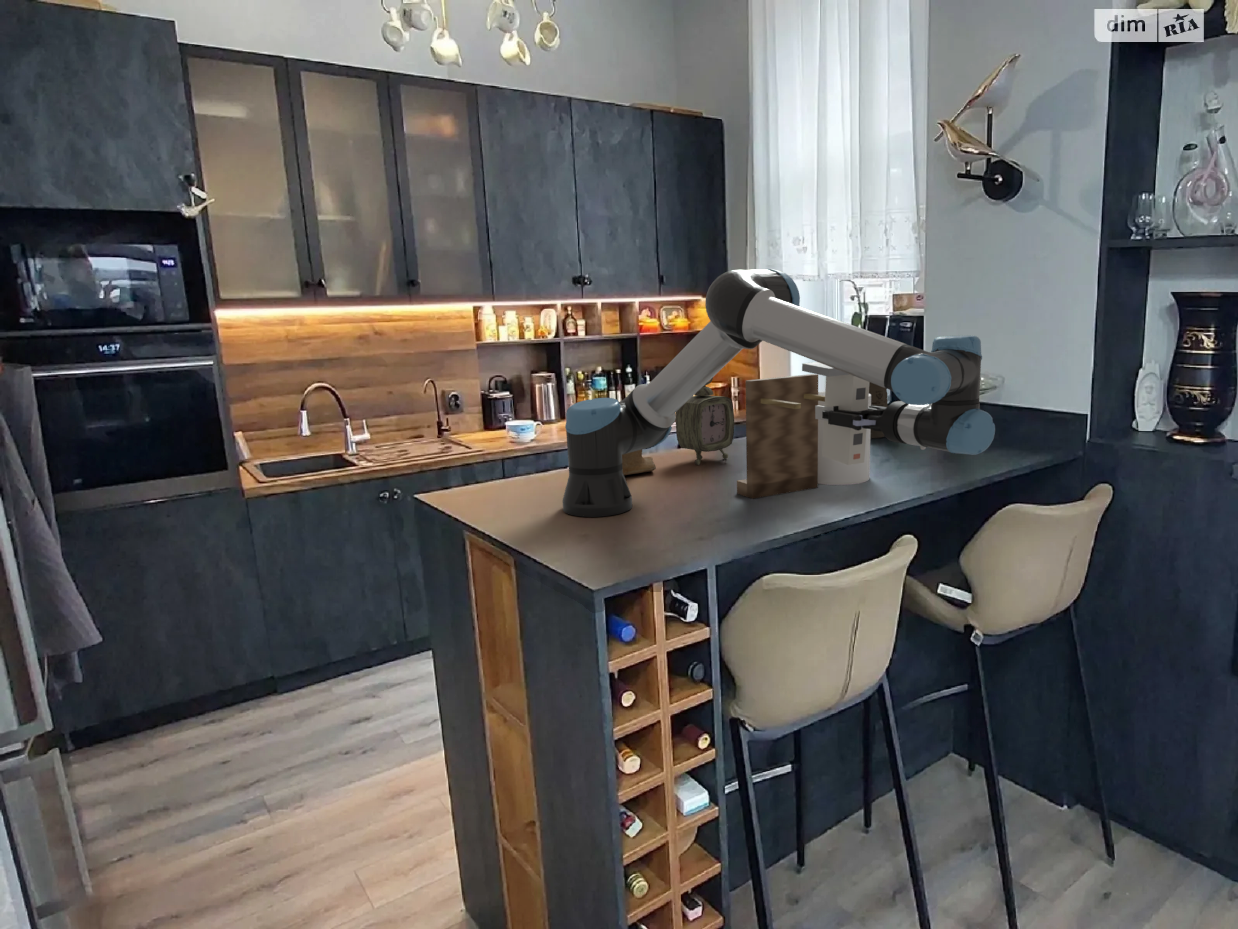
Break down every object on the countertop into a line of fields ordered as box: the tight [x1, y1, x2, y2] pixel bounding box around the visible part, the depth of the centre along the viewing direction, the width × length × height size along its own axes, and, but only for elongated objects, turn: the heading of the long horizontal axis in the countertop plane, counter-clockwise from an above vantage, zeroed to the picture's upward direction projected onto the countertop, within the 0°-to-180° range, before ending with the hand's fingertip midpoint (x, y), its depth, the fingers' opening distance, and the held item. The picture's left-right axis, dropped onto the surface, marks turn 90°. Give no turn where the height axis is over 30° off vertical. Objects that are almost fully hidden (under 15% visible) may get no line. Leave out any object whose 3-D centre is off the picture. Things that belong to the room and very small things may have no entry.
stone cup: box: [622, 449, 657, 476], centre depth 206 cm, size 15×12×15 cm
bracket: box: [736, 373, 825, 500], centre depth 176 cm, size 18×18×26 cm
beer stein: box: [869, 382, 889, 440], centre depth 247 cm, size 15×11×20 cm
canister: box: [818, 391, 871, 486], centre depth 192 cm, size 16×16×20 cm
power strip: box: [801, 361, 869, 465], centre depth 159 cm, size 16×8×20 cm, turn 115°
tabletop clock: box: [675, 377, 735, 466], centre depth 217 cm, size 14×9×25 cm, turn 129°
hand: (826, 410), depth 164 cm, fingers closed on power strip, 4 cm apart
